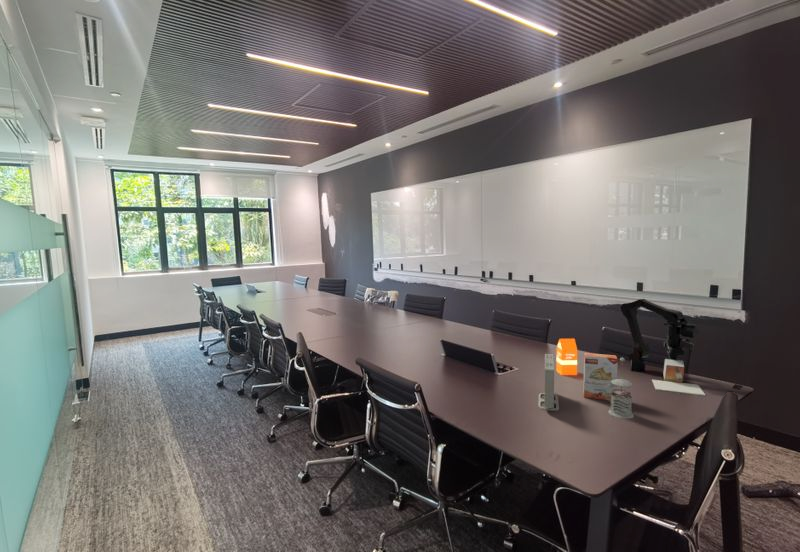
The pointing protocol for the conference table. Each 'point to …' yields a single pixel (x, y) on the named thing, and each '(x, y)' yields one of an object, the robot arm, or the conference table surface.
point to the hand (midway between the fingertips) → (673, 363)
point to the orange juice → (567, 357)
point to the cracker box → (599, 375)
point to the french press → (619, 409)
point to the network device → (549, 386)
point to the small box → (673, 370)
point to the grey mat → (678, 387)
